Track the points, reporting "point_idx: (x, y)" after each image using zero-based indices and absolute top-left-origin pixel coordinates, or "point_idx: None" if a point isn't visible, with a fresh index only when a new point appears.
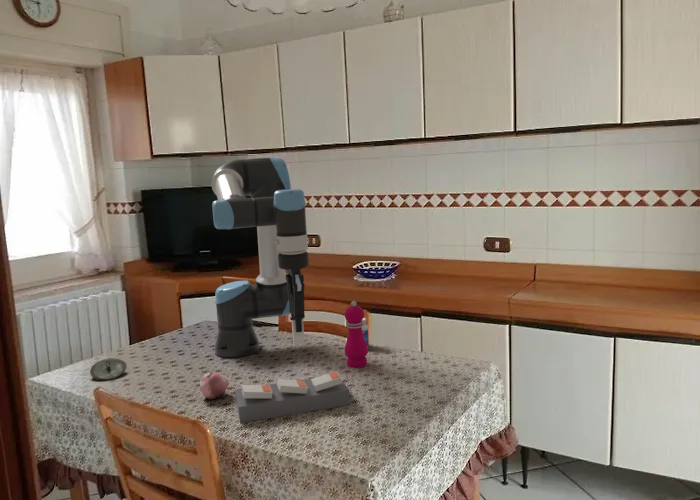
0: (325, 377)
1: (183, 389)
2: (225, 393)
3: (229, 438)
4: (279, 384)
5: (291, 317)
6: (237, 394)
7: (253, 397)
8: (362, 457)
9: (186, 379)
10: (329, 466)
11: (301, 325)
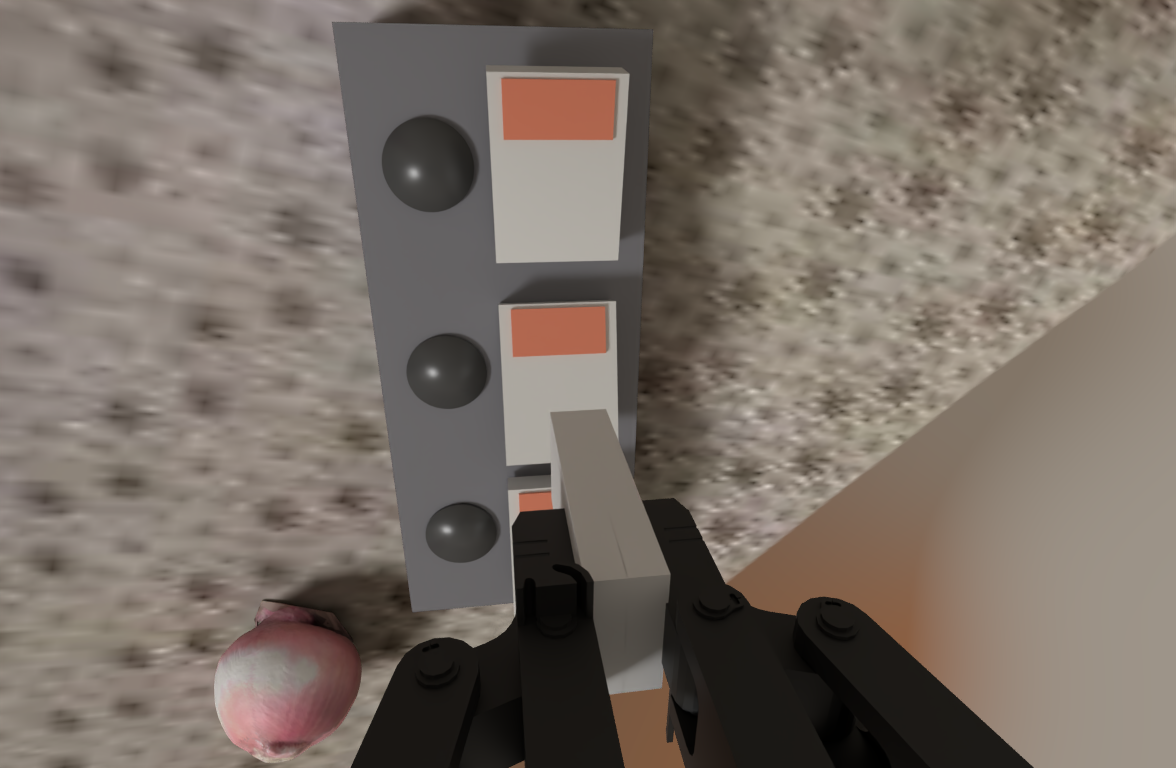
0: (541, 172)
1: (180, 751)
2: (292, 610)
3: (727, 574)
4: None
5: (672, 726)
6: (479, 600)
7: None
8: (1127, 150)
9: (40, 758)
10: (1099, 285)
11: (706, 549)
